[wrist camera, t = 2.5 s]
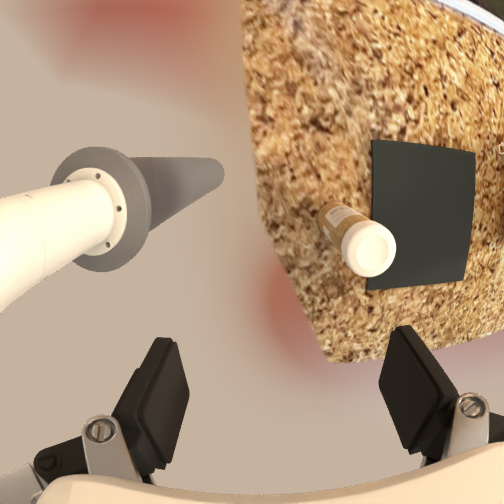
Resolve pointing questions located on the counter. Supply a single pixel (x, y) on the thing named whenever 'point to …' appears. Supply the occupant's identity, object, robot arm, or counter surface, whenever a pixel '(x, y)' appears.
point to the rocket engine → (499, 148)
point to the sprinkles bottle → (357, 239)
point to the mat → (423, 211)
